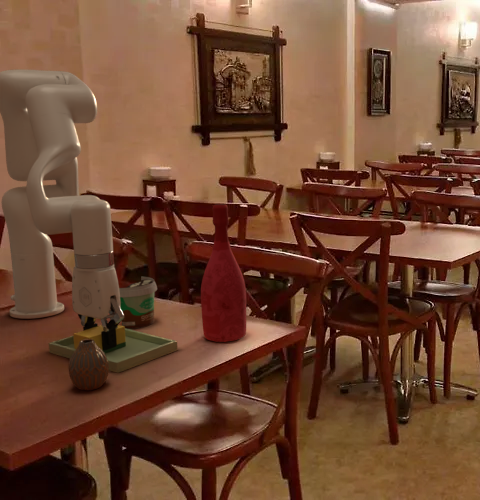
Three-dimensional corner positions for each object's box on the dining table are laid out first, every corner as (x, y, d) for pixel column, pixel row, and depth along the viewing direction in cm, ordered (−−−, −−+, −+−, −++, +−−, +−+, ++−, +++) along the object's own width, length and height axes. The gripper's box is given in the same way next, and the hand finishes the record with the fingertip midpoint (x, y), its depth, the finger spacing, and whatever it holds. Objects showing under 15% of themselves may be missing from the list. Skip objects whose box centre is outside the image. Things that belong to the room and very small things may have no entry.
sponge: (74, 354, 145) (73, 333, 144) (110, 342, 152) (109, 322, 151) (90, 358, 142) (88, 337, 141) (126, 346, 149) (124, 326, 149)
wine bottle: (193, 337, 157) (187, 203, 152) (229, 327, 164) (224, 199, 159) (220, 346, 151) (215, 208, 145) (256, 336, 158) (252, 203, 152)
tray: (49, 352, 147) (48, 343, 147) (110, 333, 160) (109, 324, 160) (117, 373, 136) (117, 362, 135) (177, 350, 149) (177, 340, 148)
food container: (143, 332, 161) (141, 289, 159) (119, 330, 162) (116, 288, 160) (167, 316, 173) (165, 277, 171) (144, 315, 174) (142, 276, 172)
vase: (76, 379, 132) (72, 335, 131) (114, 378, 133) (110, 334, 131) (65, 394, 126) (61, 347, 124) (104, 393, 126) (101, 346, 125)
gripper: (52, 259, 145) (59, 343, 148) (106, 269, 136) (113, 358, 139) (83, 253, 151) (89, 334, 155) (137, 262, 142) (142, 348, 146)
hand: (100, 344), depth 147 cm, fingers closed on sponge, 5 cm apart
